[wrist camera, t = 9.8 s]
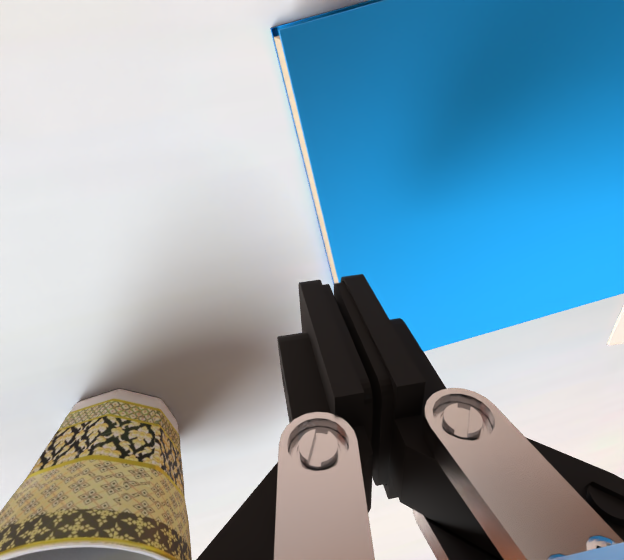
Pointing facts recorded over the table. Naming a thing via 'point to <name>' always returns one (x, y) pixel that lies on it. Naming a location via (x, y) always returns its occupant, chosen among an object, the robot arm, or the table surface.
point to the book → (465, 154)
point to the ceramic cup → (103, 487)
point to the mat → (617, 331)
